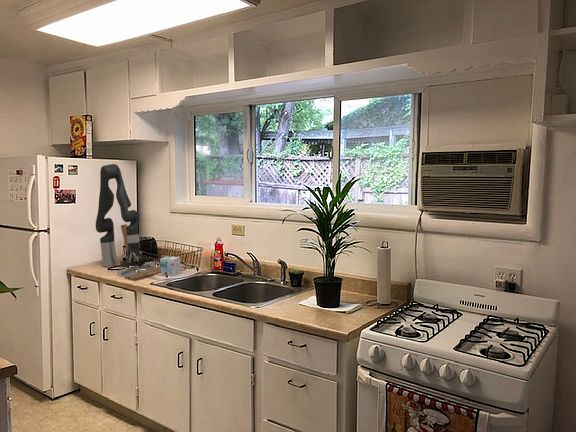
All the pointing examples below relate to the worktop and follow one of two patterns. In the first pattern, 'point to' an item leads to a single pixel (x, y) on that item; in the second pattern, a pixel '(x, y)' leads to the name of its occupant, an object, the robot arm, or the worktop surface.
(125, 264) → the hammer
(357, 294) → the worktop surface
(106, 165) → the robot arm
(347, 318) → the worktop surface
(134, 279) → the tool board
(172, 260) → the light bulb box
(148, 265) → the spanner
